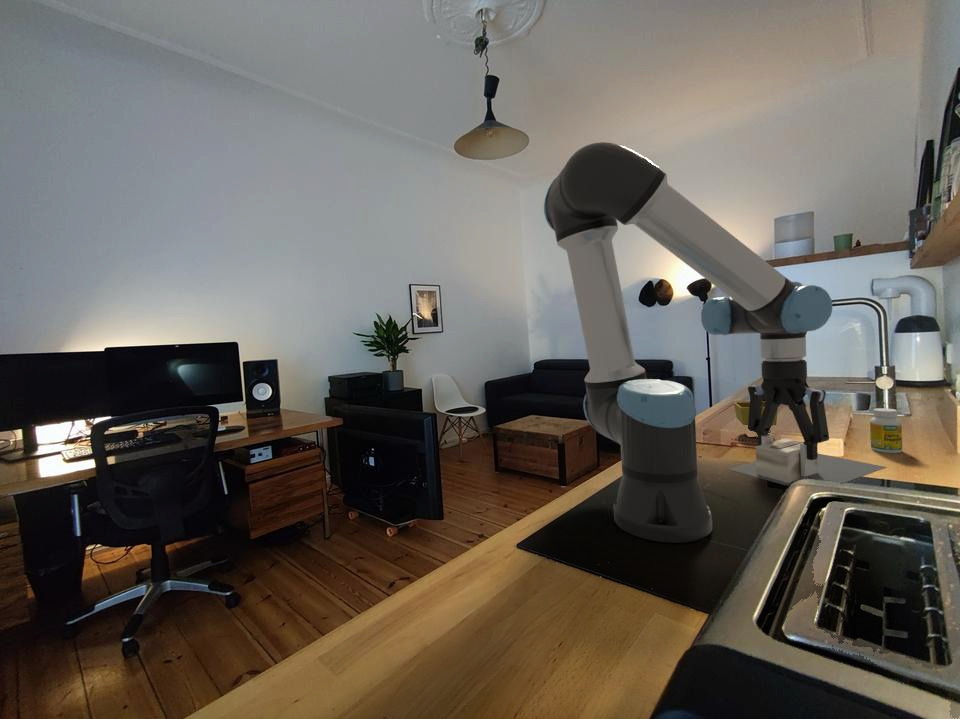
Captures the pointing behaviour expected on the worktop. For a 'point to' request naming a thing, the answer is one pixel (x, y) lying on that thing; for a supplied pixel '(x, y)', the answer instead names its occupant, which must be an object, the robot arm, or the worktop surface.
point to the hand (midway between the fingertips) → (787, 469)
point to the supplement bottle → (886, 431)
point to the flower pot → (743, 412)
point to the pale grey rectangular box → (781, 460)
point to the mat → (822, 469)
